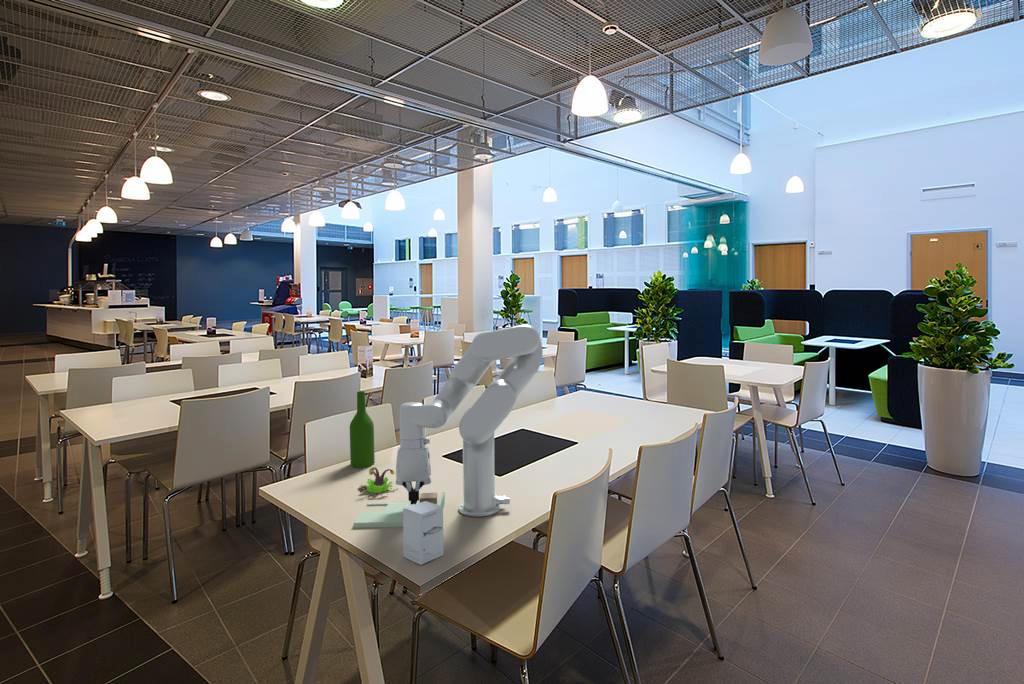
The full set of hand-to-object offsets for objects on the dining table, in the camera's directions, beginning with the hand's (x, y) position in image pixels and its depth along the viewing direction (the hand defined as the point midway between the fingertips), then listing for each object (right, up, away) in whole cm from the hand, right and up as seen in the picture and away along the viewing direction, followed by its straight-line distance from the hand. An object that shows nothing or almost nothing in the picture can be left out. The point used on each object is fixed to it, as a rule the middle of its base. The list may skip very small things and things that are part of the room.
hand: (413, 502), depth 161 cm
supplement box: (+8, -5, -29) cm, 30 cm away
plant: (-15, -4, +16) cm, 23 cm away
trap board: (-3, -4, -4) cm, 6 cm away
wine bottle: (-28, -3, +42) cm, 51 cm away
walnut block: (+4, -1, +1) cm, 5 cm away
